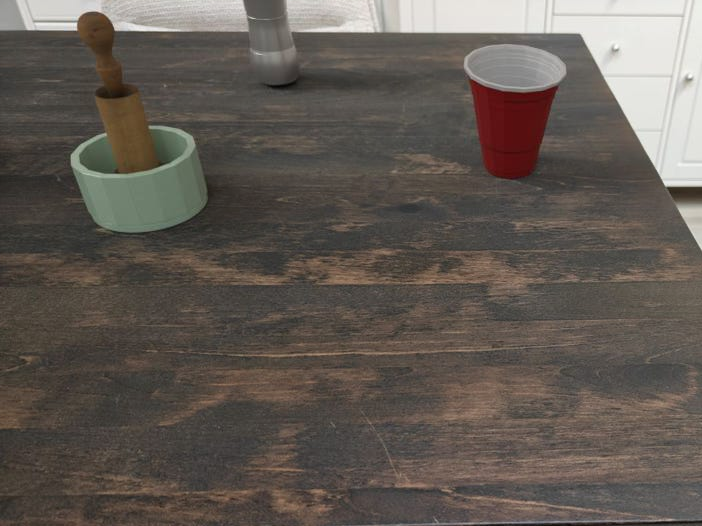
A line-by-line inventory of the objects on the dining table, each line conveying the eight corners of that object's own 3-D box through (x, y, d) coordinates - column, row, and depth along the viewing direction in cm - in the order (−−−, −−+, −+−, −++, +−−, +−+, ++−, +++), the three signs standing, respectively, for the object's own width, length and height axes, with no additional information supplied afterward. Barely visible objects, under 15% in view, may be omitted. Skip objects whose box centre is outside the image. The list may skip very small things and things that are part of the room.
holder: (124, 246, 72) (104, 190, 68) (71, 203, 78) (50, 149, 74) (229, 204, 78) (217, 150, 74) (173, 167, 84) (159, 116, 80)
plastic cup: (494, 199, 79) (498, 88, 72) (446, 159, 86) (444, 53, 79) (576, 176, 84) (588, 68, 76) (524, 139, 91) (530, 37, 83)
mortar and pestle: (194, 190, 78) (146, 8, 67) (150, 218, 74) (90, 29, 62) (146, 176, 80) (91, -2, 69) (100, 203, 76) (33, 18, 64)
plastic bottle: (280, 94, 100) (252, -74, 87) (243, 84, 103) (211, -82, 90) (312, 79, 104) (290, -84, 91) (276, 70, 107) (250, -90, 94)
